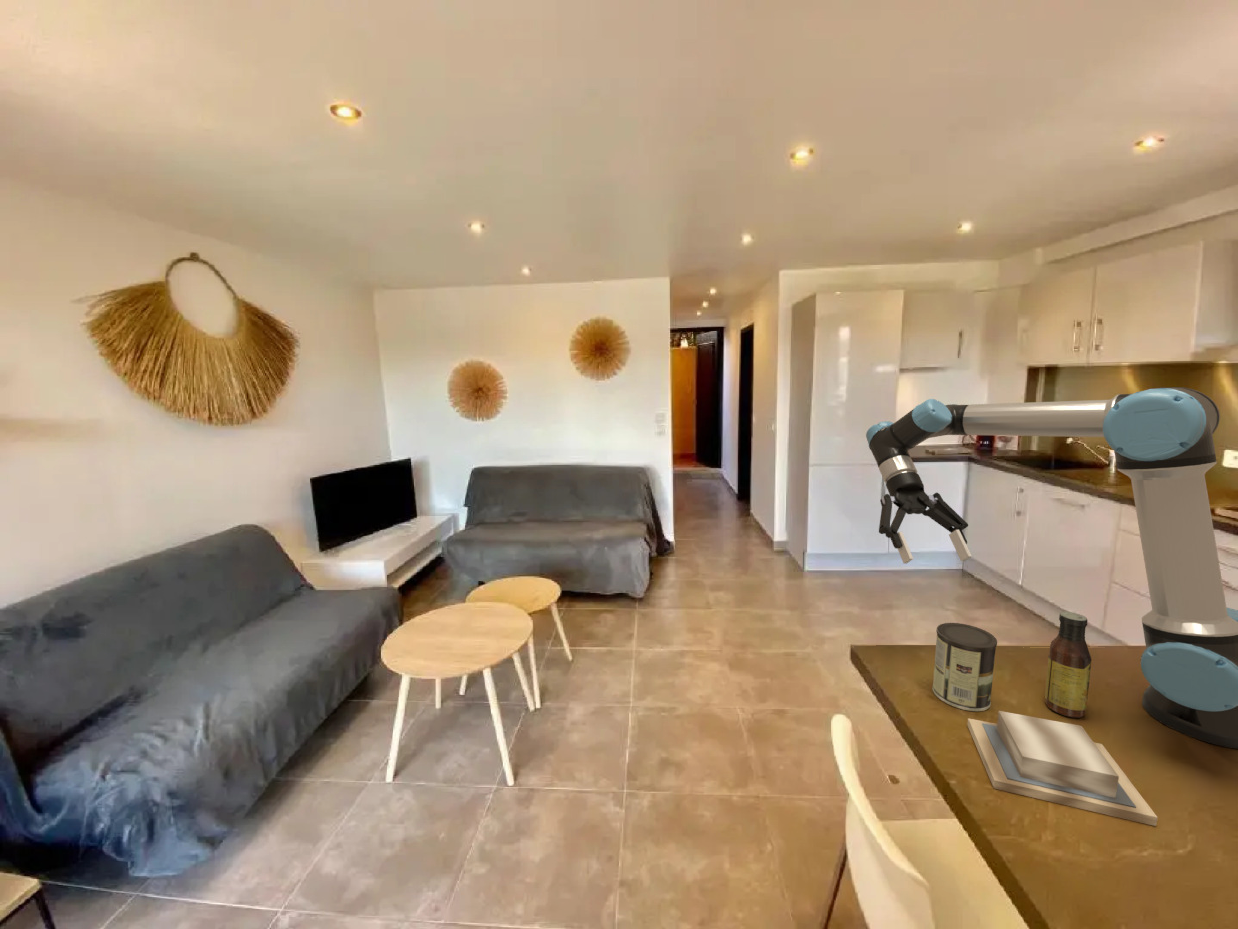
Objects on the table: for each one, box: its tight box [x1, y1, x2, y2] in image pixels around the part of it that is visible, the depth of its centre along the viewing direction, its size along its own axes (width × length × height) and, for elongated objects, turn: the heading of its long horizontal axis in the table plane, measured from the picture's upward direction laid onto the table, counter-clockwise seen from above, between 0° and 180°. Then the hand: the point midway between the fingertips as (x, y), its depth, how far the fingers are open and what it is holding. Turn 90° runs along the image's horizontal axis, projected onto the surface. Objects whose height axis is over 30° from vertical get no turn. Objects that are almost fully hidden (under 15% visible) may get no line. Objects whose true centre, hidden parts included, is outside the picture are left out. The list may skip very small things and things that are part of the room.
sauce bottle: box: [1044, 611, 1092, 719], centre depth 98 cm, size 6×6×20 cm
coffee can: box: [931, 622, 998, 712], centre depth 103 cm, size 10×10×14 cm
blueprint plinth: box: [967, 710, 1159, 827], centre depth 84 cm, size 20×16×6 cm
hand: (937, 560), depth 109 cm, fingers open, 13 cm apart
